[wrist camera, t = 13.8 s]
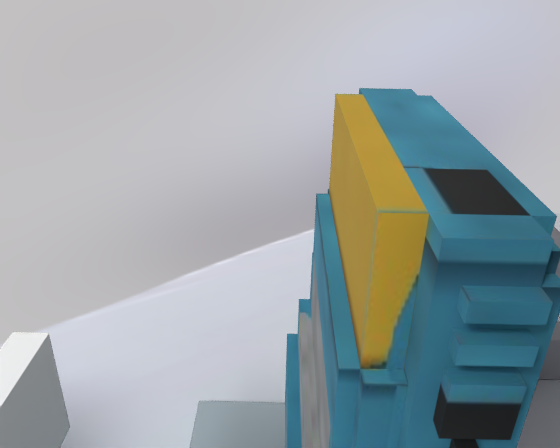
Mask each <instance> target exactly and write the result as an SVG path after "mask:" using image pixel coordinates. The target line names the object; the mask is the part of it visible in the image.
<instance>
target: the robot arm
mask: <svg viewBox="0 0 560 448" xmlns="http://www.w3.org/2000/svg"><path fill="white" fill-rule="evenodd" d="M69 428H70V425H69V420H68V416H67V411H66V407H65V403H64V398H63V394H62V389H61V385H60V381H59V376H58V372H57V367H56V363H55V359H54V354H53V350H52V345H51V341H50V337H49V333H23V332H13V333H12V334H11V335H10V337H9V338H8V339H7V341H6V342H5V343H4V344H3V346H2V347H1V348H0V448H60V446H61V444H62V442H63V440H64V438H65V436H66V434H67V432H68V430H69Z"/></svg>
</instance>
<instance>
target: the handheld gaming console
mask: <svg viewBox="0 0 560 448" xmlns="http://www.w3.org/2000/svg"><path fill="white" fill-rule="evenodd" d="M556 217H557V216H556V215H555V214H554V213H553V212H552V211H551V210H550V209H549V208H548V207H547V206H546V205H544V204H543V203H542V202H541V201H540V200H539V199H538V198H537V197H536V196H535V195H534V194H533V193H532V192H531V191H530V190H529V189H528V188H527V187H526V186H525V185H524V184H522V183H521V182H520V181H519V180H518V179H517V178H516V177H515V176H514V175H513V174H512V173H511V172H510V171H509V170H508V169H507V168H506V167H505V166H504V165H503V164H502V163H501V162H500V161H499V160H498V159H496V158H495V157H494V156H493V155H492V154H491V153H490V152H489V151H488V150H487V149H486V148H485V147H484V146H483V145H482V144H481V143H480V142H479V141H478V140H477V139H476V138H475V137H473V135H471V134H470V133H469V132H468V131H467V130H466V129H465V128H464V127H463V126H462V125H461V124H460V123H459V122H458V121H457V120H456V119H455V118H454V117H453V116H452V115H450V114H449V112H447V111H446V110H445V109H444V108H443V107H442V106H441V105H440V104H439V103H438V102H437V101H436V100H435V99H434V98H433V97H432V96H418V95H416V94H415V92H414V91H413V90H411V89H369V88H360V89H359V94H335V110H334V125H333V140H332V155H331V172H330V187H329V189H328V194H317V195H316V213H315V232H314V250H313V253H312V272H311V291H310V299H299V315H298V334H287V357H286V391H285V448H516V447H517V444H518V441H519V438H520V435H521V431H522V428H523V425H524V422H525V419H526V416H527V413H528V410H529V406H530V403H531V400H532V397H533V394H534V391H535V388H536V385H537V381H538V378H539V375H540V372H541V369H542V366H543V363H544V360H545V356H546V353H547V350H548V347H549V344H550V341H551V338H552V335H553V331H554V328H555V325H556V322H557V319H558V316H559V313H560V278H559V277H558V276H557V275H556V269H557V266H558V263H559V260H560V248H559V247H558V246H557V245H556V244H555V243H554V239H553V238H552V237H551V235H552V231H553V228H554V224H555V221H556Z"/></svg>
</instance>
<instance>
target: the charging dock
mask: <svg viewBox="0 0 560 448" xmlns="http://www.w3.org/2000/svg"><path fill="white" fill-rule="evenodd" d="M551 237H552V238H553V239H554V243H555V244H556V245H557V246H558V247H559V248H560V232H559V231H558V230H557V229H556V228H555V227H554V228H553V231H552V235H551ZM556 275H557V276H558V277H559V278H560V260H559V263H558V266H557V269H556ZM538 379H554V380H560V322H556V325H555V328H554V331H553V335H552V338H551V341H550V344H549V347H548V350H547V353H546V356H545V360H544V363H543V366H542V369H541V372H540V375H539V378H538Z"/></svg>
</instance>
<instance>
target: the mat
mask: <svg viewBox="0 0 560 448" xmlns="http://www.w3.org/2000/svg"><path fill="white" fill-rule="evenodd" d="M190 448H285V403H269V402H229V401H199V404H198V408H197V413H196V418H195V423H194V428H193V433H192V438H191V443H190Z"/></svg>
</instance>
